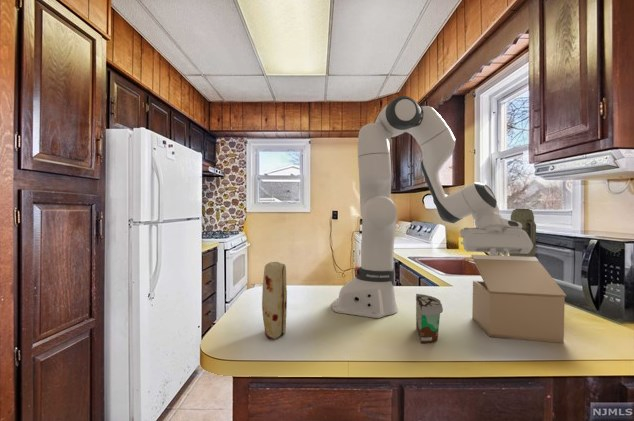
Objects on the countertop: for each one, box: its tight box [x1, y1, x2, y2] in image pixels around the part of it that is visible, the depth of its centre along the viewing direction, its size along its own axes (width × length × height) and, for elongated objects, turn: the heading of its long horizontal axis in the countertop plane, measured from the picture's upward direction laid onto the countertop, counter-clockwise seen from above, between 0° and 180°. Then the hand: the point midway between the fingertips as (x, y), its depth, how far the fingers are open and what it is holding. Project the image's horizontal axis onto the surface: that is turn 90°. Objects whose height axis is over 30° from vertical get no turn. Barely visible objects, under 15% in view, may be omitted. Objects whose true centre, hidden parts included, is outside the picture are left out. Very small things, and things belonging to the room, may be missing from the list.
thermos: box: [508, 208, 537, 257], centre depth 117 cm, size 9×12×35 cm
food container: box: [415, 293, 444, 345], centre depth 82 cm, size 12×6×10 cm, turn 168°
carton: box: [471, 280, 566, 344], centre depth 87 cm, size 18×14×12 cm
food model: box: [261, 261, 288, 340], centre depth 82 cm, size 10×7×20 cm
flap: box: [471, 254, 567, 298], centre depth 87 cm, size 18×17×1 cm
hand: (502, 261), depth 95 cm, fingers closed, pressing on flap
